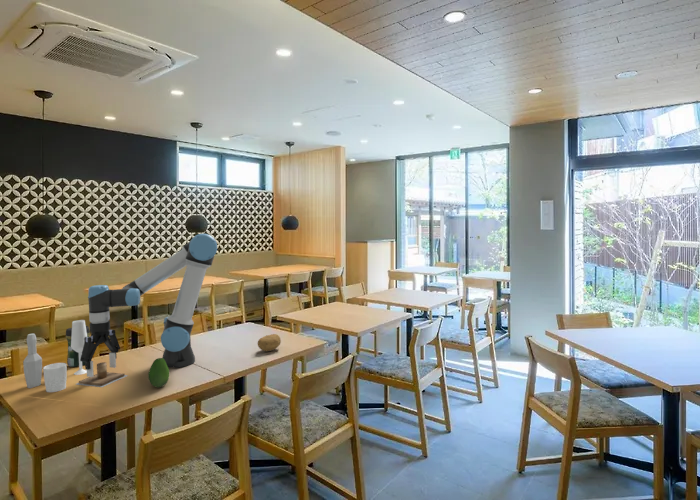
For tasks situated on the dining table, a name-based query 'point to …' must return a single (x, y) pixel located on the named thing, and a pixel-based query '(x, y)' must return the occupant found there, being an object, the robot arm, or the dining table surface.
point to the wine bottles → (73, 355)
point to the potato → (269, 342)
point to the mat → (103, 385)
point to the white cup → (55, 377)
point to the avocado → (158, 373)
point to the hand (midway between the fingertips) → (101, 371)
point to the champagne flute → (78, 341)
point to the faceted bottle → (32, 363)
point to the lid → (101, 376)
